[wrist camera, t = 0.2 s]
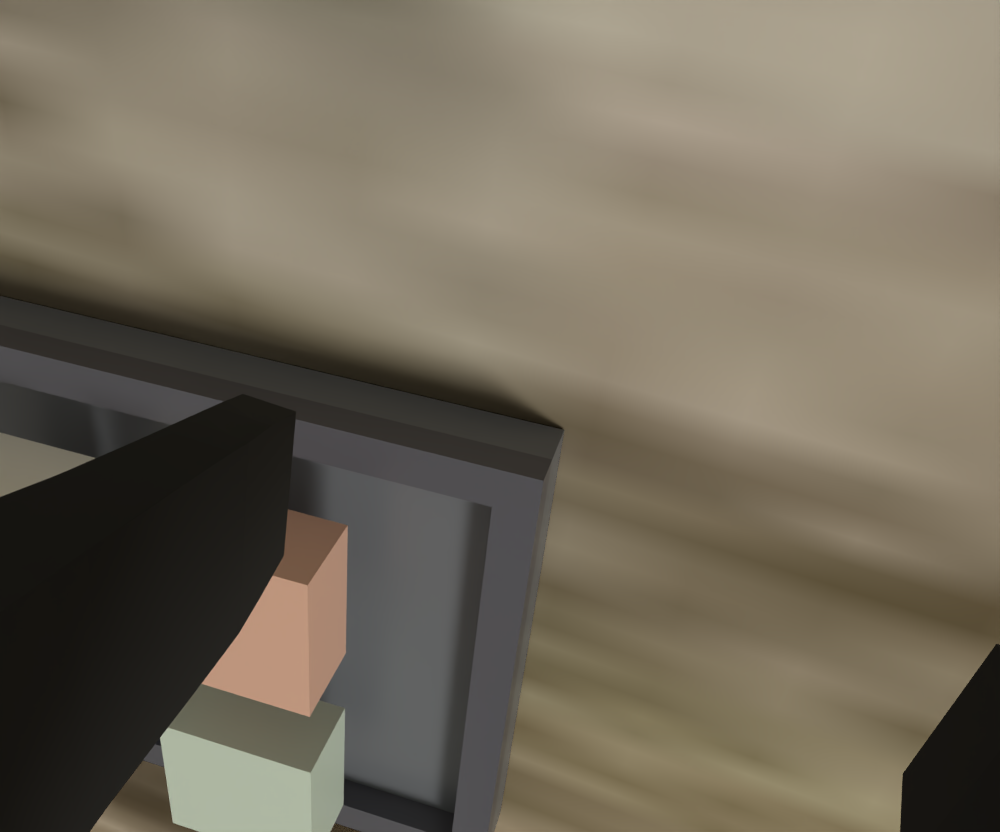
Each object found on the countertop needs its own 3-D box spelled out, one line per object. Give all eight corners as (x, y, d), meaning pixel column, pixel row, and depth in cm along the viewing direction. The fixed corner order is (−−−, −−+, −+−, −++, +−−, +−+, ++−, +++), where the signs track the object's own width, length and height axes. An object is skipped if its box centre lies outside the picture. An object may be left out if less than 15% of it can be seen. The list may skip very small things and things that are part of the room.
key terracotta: (345, 652, 22) (309, 716, 21) (195, 609, 23) (149, 667, 22) (347, 525, 20) (307, 585, 19) (182, 481, 21) (129, 535, 19)
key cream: (124, 588, 24) (73, 644, 22) (-14, 548, 24) (-73, 599, 23) (103, 460, 21) (44, 511, 20) (-47, 420, 22) (-116, 466, 20)
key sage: (343, 804, 26) (312, 869, 24) (211, 761, 26) (172, 822, 25) (344, 708, 24) (310, 773, 22) (201, 664, 24) (157, 724, 23)
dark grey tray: (500, 811, 28) (481, 871, 27) (-13, 649, 31) (-59, 694, 30) (564, 430, 21) (543, 480, 19) (-123, 266, 24) (-192, 298, 22)
